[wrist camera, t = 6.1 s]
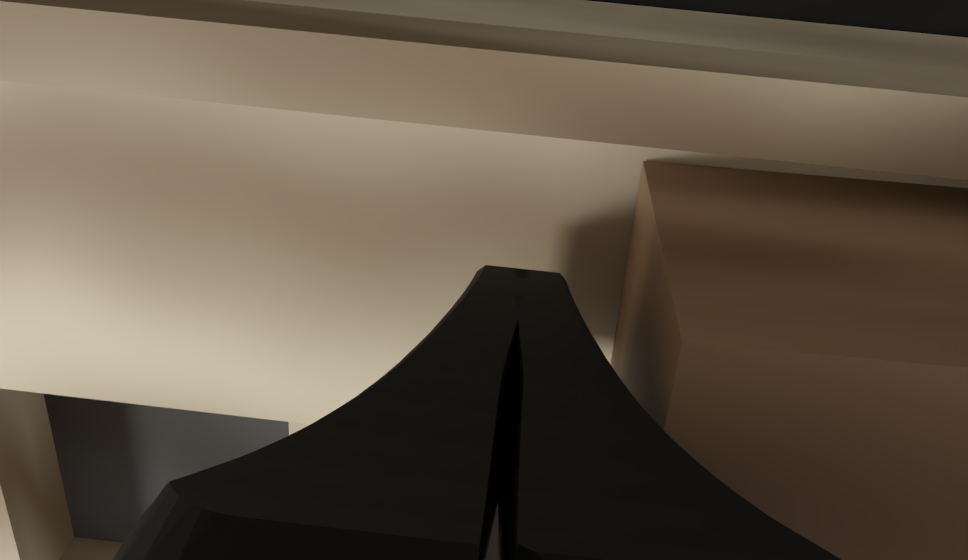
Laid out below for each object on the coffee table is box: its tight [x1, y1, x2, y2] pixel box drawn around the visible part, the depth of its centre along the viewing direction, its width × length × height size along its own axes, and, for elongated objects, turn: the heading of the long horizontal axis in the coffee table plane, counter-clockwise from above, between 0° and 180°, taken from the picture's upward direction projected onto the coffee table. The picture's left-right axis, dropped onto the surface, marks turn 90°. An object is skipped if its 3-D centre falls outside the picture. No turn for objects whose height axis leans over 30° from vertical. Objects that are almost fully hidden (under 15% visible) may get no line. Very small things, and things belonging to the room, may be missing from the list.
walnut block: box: [611, 161, 968, 560], centre depth 11 cm, size 4×4×4 cm
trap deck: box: [0, 0, 968, 560], centre depth 15 cm, size 13×20×4 cm, turn 86°
